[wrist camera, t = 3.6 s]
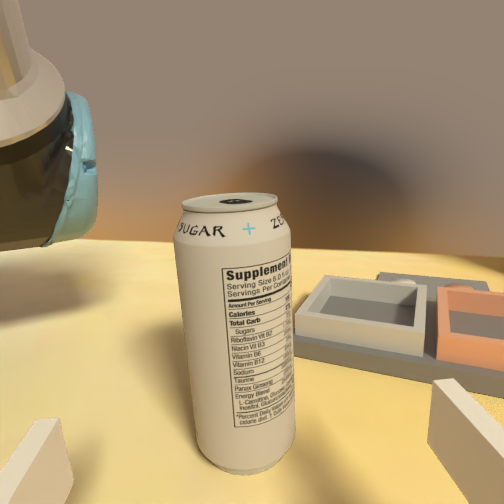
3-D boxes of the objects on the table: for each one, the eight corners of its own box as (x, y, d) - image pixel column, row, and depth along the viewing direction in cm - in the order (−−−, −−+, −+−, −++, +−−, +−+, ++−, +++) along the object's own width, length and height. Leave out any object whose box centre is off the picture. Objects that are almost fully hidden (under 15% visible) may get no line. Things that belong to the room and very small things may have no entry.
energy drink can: (253, 396, 27) (240, 189, 23) (316, 443, 22) (314, 195, 18) (180, 438, 23) (148, 202, 19) (237, 505, 19) (212, 214, 14)
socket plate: (287, 354, 32) (285, 317, 31) (323, 300, 42) (323, 271, 41) (626, 423, 22) (640, 373, 21) (565, 332, 33) (573, 295, 32)
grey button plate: (372, 294, 43) (373, 289, 43) (380, 274, 49) (380, 270, 49) (493, 308, 38) (494, 303, 38) (485, 284, 44) (486, 280, 44)
